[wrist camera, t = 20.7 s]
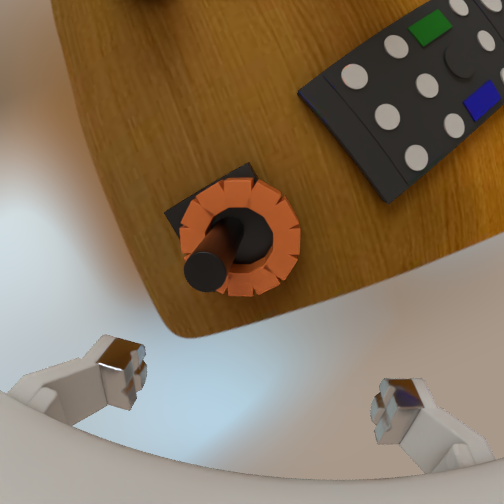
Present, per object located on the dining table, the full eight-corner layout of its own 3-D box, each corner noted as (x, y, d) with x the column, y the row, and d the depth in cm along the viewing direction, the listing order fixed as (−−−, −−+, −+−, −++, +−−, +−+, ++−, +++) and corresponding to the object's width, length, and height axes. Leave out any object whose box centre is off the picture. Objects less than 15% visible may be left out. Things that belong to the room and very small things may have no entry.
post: (296, 246, 27) (304, 301, 18) (215, 287, 29) (186, 352, 19) (249, 161, 25) (230, 170, 16) (168, 209, 27) (113, 244, 17)
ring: (318, 254, 26) (321, 263, 24) (224, 302, 28) (221, 314, 26) (261, 156, 24) (260, 156, 22) (167, 214, 26) (158, 220, 24)
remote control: (551, 50, 17) (562, 48, 15) (383, 201, 25) (390, 205, 23) (494, -32, 15) (502, -38, 13) (297, 94, 23) (298, 89, 21)
